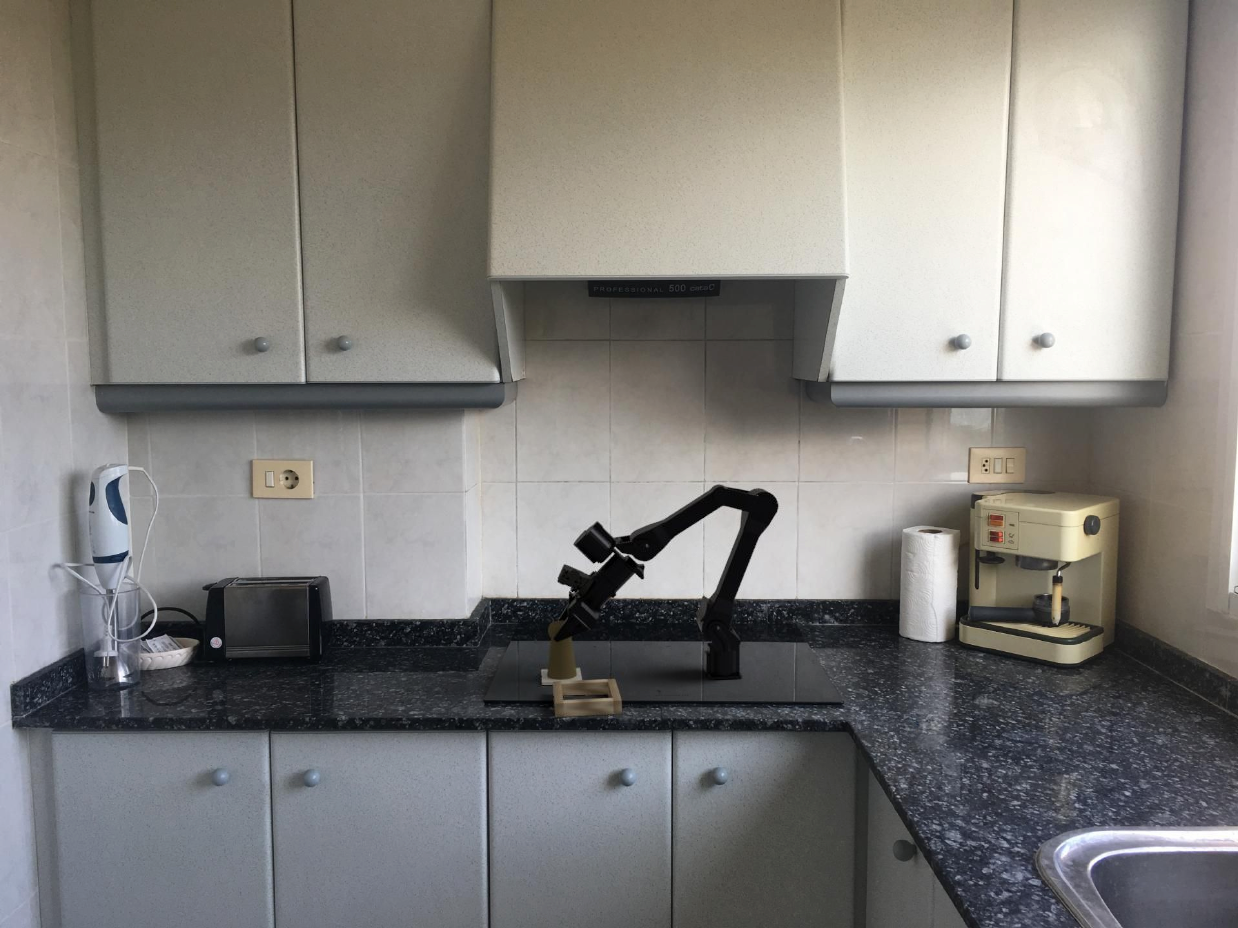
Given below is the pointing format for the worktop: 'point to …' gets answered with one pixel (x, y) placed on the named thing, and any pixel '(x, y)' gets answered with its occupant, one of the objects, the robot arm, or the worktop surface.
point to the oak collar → (587, 705)
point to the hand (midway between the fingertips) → (555, 633)
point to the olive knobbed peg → (560, 655)
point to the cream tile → (549, 681)
